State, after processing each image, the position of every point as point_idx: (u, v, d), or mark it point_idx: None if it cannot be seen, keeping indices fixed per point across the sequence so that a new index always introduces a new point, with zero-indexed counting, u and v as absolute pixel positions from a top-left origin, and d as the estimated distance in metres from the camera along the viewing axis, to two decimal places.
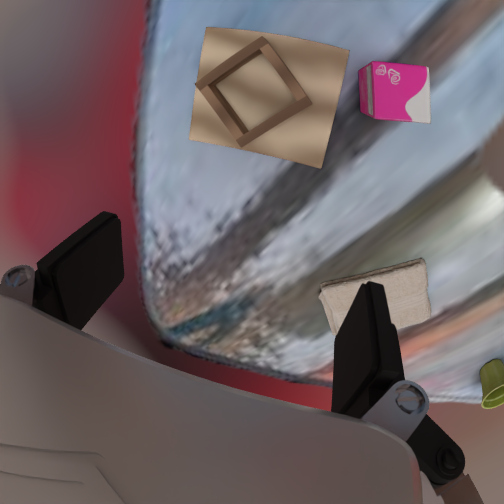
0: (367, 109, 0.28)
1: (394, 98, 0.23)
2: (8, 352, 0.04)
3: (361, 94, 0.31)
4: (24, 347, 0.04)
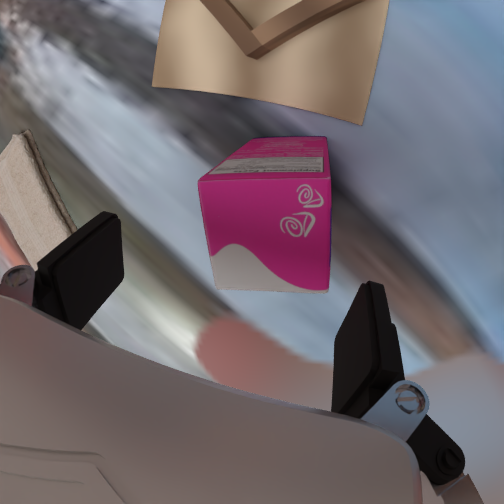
0: (237, 156, 0.16)
1: (247, 223, 0.13)
2: (8, 352, 0.04)
3: (278, 141, 0.20)
4: (24, 347, 0.04)
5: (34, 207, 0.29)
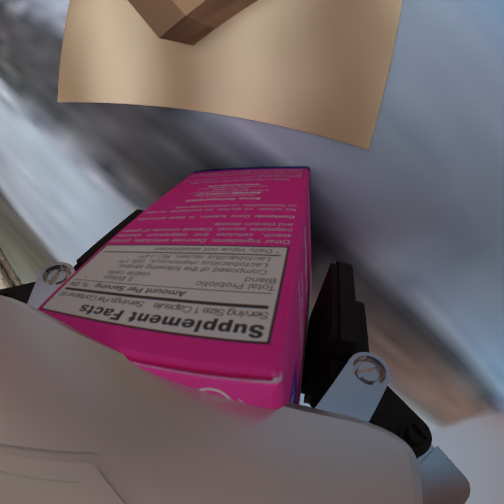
0: (131, 233, 0.09)
1: None
2: (8, 352, 0.04)
3: (225, 182, 0.12)
4: (24, 347, 0.04)
5: None
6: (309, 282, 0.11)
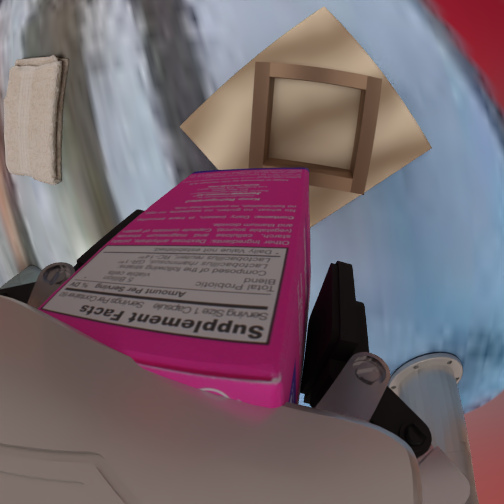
0: (131, 233, 0.09)
1: None
2: (8, 352, 0.04)
3: (225, 182, 0.12)
4: (24, 347, 0.04)
5: (37, 125, 0.29)
6: (308, 282, 0.11)
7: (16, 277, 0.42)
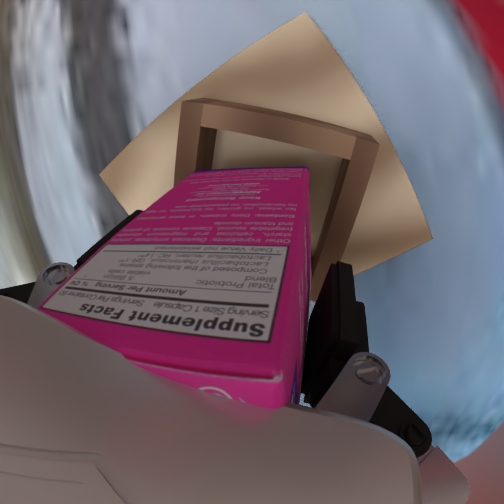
0: (131, 232, 0.09)
1: None
2: (8, 352, 0.04)
3: (225, 181, 0.12)
4: (24, 347, 0.04)
5: None
6: (309, 281, 0.11)
7: None
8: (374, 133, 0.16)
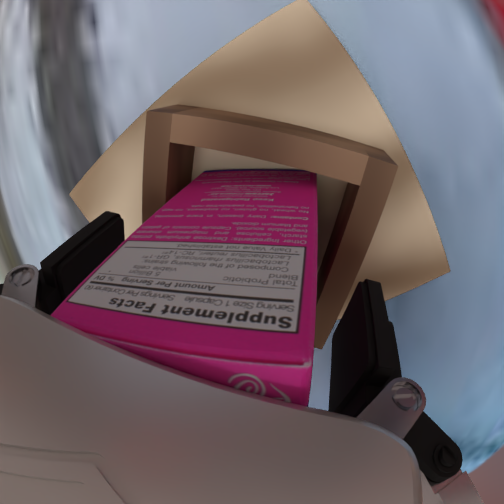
0: (151, 229, 0.09)
1: None
2: (8, 352, 0.04)
3: (237, 182, 0.12)
4: (24, 347, 0.04)
5: None
6: None
7: None
8: (388, 148, 0.13)
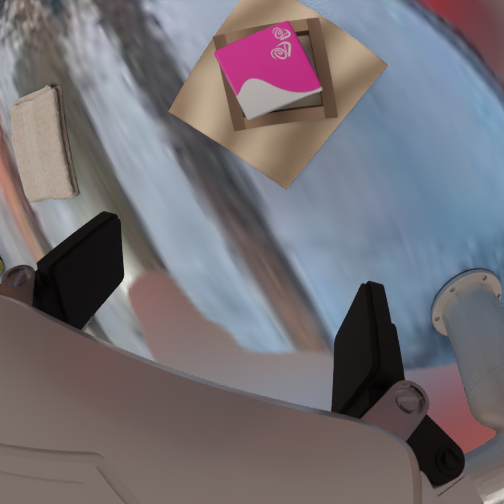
0: None
1: (252, 62, 0.17)
2: (8, 352, 0.04)
3: None
4: (24, 347, 0.04)
5: (46, 148, 0.35)
6: None
7: None
8: (320, 21, 0.23)
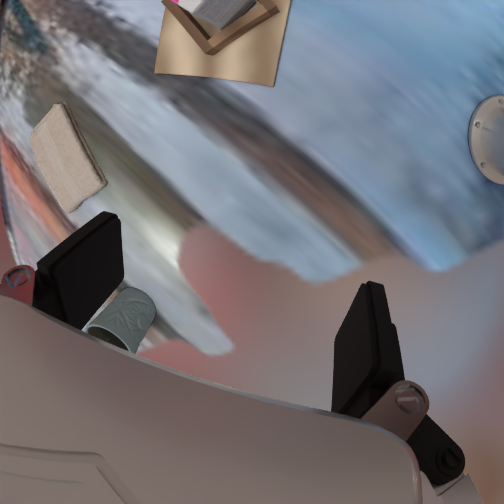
0: None
1: None
2: (8, 352, 0.04)
3: None
4: (24, 347, 0.04)
5: (68, 153, 0.42)
6: None
7: None
8: None
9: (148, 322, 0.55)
